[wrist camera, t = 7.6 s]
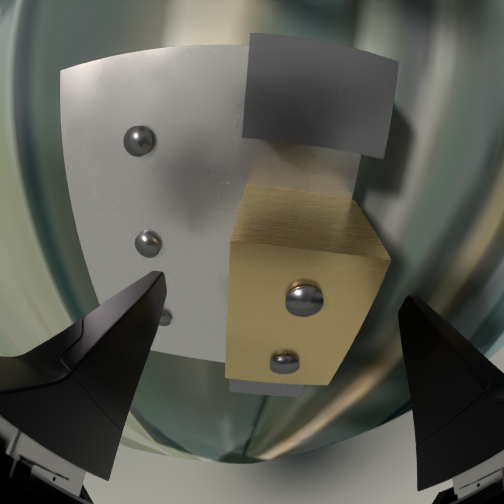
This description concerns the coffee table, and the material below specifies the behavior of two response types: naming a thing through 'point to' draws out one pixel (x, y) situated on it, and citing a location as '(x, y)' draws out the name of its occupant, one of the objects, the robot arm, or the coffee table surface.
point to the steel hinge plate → (209, 162)
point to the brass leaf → (298, 284)
